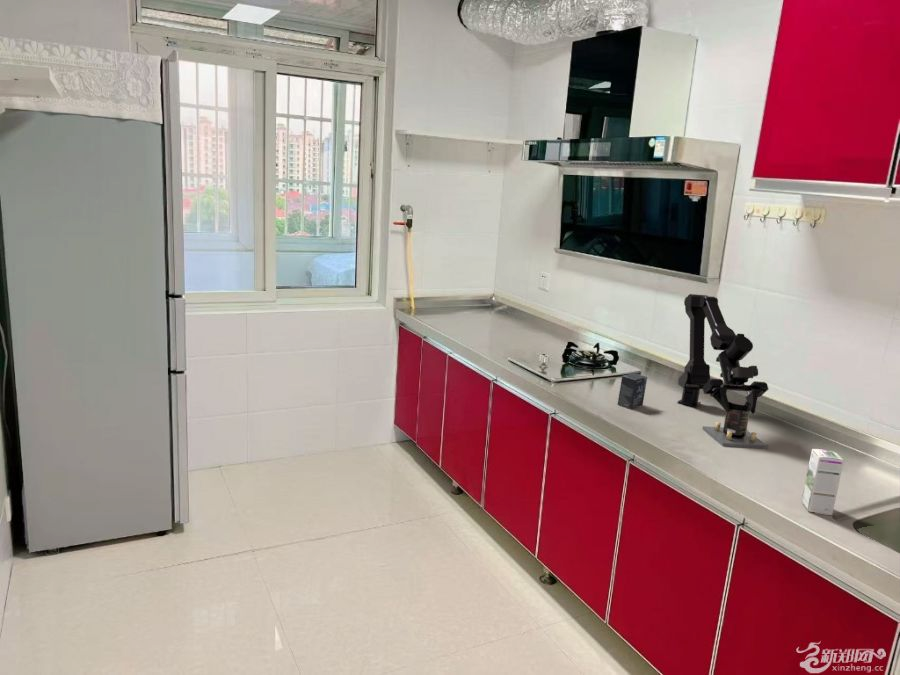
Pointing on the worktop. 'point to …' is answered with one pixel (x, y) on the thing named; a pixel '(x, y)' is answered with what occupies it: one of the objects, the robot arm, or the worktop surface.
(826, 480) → the syrup box
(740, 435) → the supplement container
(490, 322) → the worktop surface
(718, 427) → the plate
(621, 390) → the box
